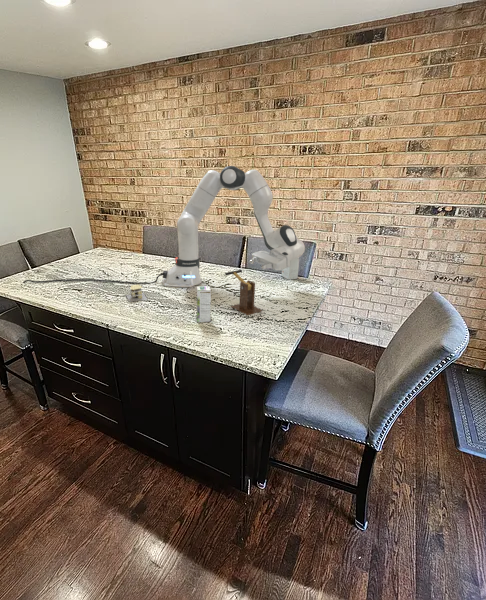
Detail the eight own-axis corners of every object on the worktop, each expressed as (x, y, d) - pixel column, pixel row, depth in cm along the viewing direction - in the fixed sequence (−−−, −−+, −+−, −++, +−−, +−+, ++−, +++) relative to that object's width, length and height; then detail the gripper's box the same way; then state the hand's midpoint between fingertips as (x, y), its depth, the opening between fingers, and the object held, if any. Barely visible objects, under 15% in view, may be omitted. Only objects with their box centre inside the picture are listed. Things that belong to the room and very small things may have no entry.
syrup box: (196, 316, 149) (196, 285, 143) (209, 316, 149) (209, 285, 144) (197, 322, 143) (196, 290, 138) (211, 321, 144) (211, 290, 139)
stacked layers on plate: (126, 295, 174) (125, 285, 172) (143, 293, 178) (142, 283, 176) (129, 301, 166) (128, 291, 164) (147, 299, 169) (146, 289, 167)
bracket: (230, 308, 157) (231, 280, 152) (245, 304, 162) (246, 277, 157) (247, 317, 148) (248, 288, 143) (262, 313, 152) (264, 284, 147)
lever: (224, 275, 156) (225, 271, 154) (239, 272, 160) (241, 268, 159) (240, 292, 148) (242, 288, 147) (256, 288, 153) (257, 284, 151)
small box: (297, 278, 200) (299, 257, 195) (288, 280, 198) (290, 258, 193) (290, 275, 207) (292, 254, 202) (281, 276, 205) (282, 255, 200)
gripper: (264, 245, 176) (243, 253, 171) (292, 255, 160) (269, 264, 155) (264, 257, 179) (243, 264, 174) (292, 268, 163) (269, 277, 158)
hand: (256, 264), depth 164 cm, fingers open, 8 cm apart
